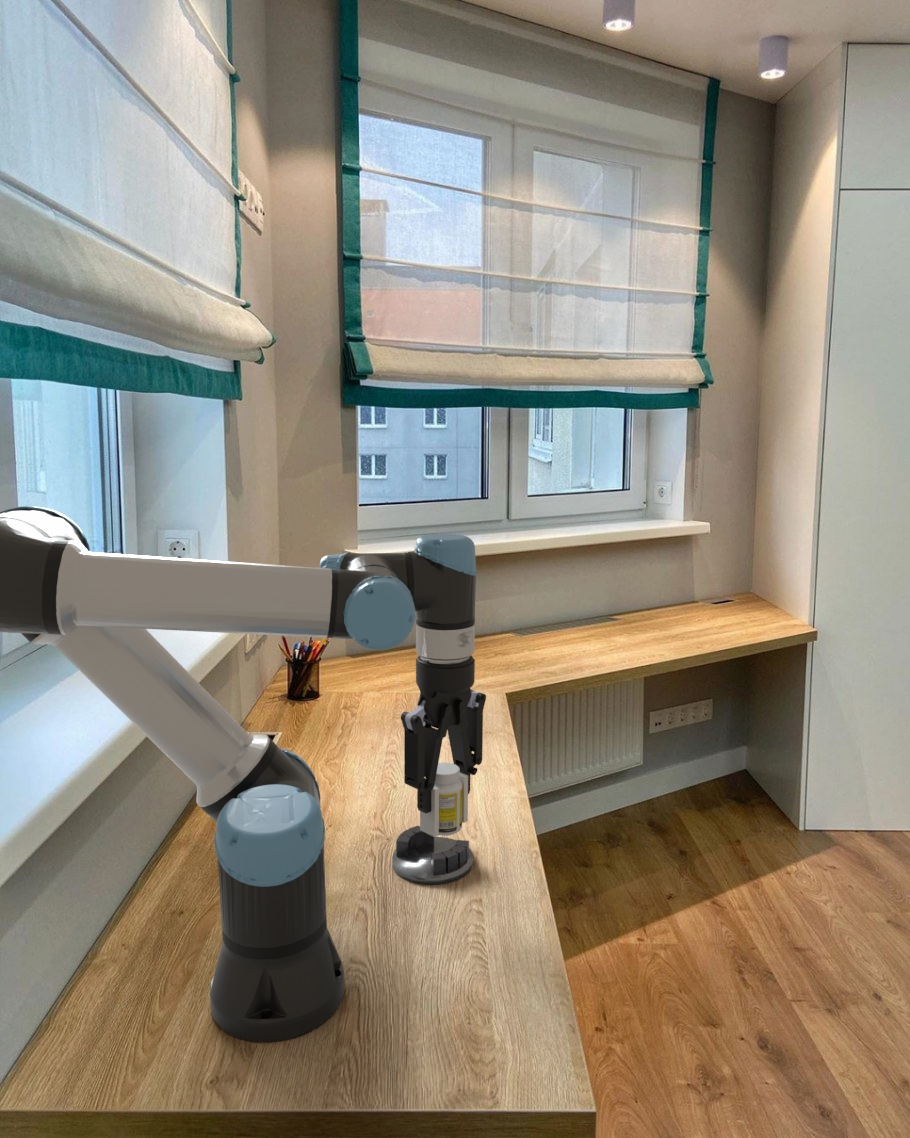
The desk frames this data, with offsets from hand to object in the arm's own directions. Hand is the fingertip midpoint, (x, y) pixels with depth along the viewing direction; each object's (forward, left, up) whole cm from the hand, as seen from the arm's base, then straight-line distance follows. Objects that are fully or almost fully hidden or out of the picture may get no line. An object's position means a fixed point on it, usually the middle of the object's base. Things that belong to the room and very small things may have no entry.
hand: (444, 825), depth 115 cm
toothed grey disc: (+7, +10, -12) cm, 17 cm away
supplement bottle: (0, 0, -1) cm, 1 cm away
